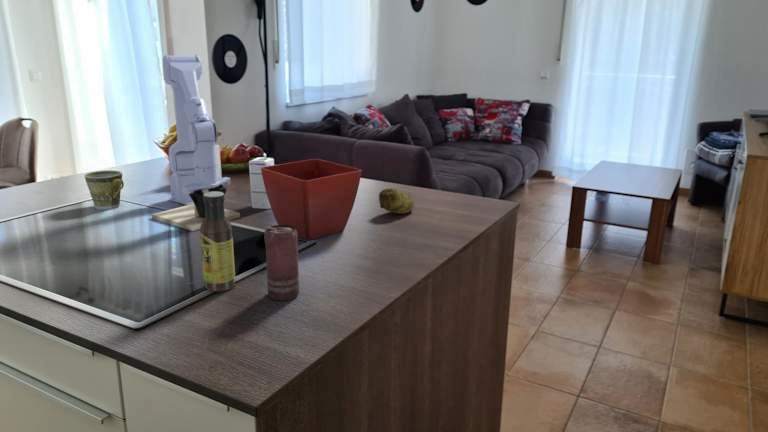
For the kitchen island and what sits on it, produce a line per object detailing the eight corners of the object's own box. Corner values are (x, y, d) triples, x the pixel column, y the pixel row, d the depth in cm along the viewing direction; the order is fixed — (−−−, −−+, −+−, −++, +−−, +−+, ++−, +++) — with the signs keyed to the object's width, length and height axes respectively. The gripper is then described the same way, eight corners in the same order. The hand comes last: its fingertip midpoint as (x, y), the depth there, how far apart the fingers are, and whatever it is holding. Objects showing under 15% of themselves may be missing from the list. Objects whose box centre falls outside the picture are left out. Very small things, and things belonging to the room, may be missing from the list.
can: (268, 289, 119) (265, 223, 115) (299, 288, 120) (297, 223, 116) (265, 302, 113) (261, 233, 109) (298, 301, 114) (296, 233, 110)
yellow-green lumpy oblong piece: (423, 214, 172) (424, 187, 169) (385, 220, 165) (386, 192, 163) (408, 207, 178) (409, 181, 176) (371, 212, 172) (371, 186, 170)
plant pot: (363, 230, 156) (363, 169, 151) (306, 247, 143) (304, 180, 138) (317, 215, 169) (316, 158, 164) (261, 229, 156) (258, 167, 151)
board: (152, 218, 163) (151, 214, 163) (199, 206, 176) (199, 202, 176) (192, 231, 153) (192, 226, 153) (240, 217, 166) (239, 212, 166)
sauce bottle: (202, 283, 121) (195, 190, 116) (233, 279, 124) (227, 187, 118) (206, 295, 116) (198, 198, 110) (238, 290, 118) (232, 195, 112)
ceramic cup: (81, 208, 172) (76, 175, 169) (110, 200, 180) (106, 168, 177) (111, 215, 166) (107, 180, 163) (140, 206, 174) (136, 173, 172)
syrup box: (269, 209, 174) (267, 161, 169) (251, 208, 175) (248, 160, 171) (276, 204, 179) (274, 157, 175) (258, 203, 180) (256, 156, 176)
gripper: (192, 173, 149) (196, 223, 153) (236, 163, 160) (239, 211, 164) (175, 169, 153) (179, 218, 157) (219, 160, 164) (222, 207, 168)
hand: (209, 214), depth 161 cm, fingers closed on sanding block, 4 cm apart
